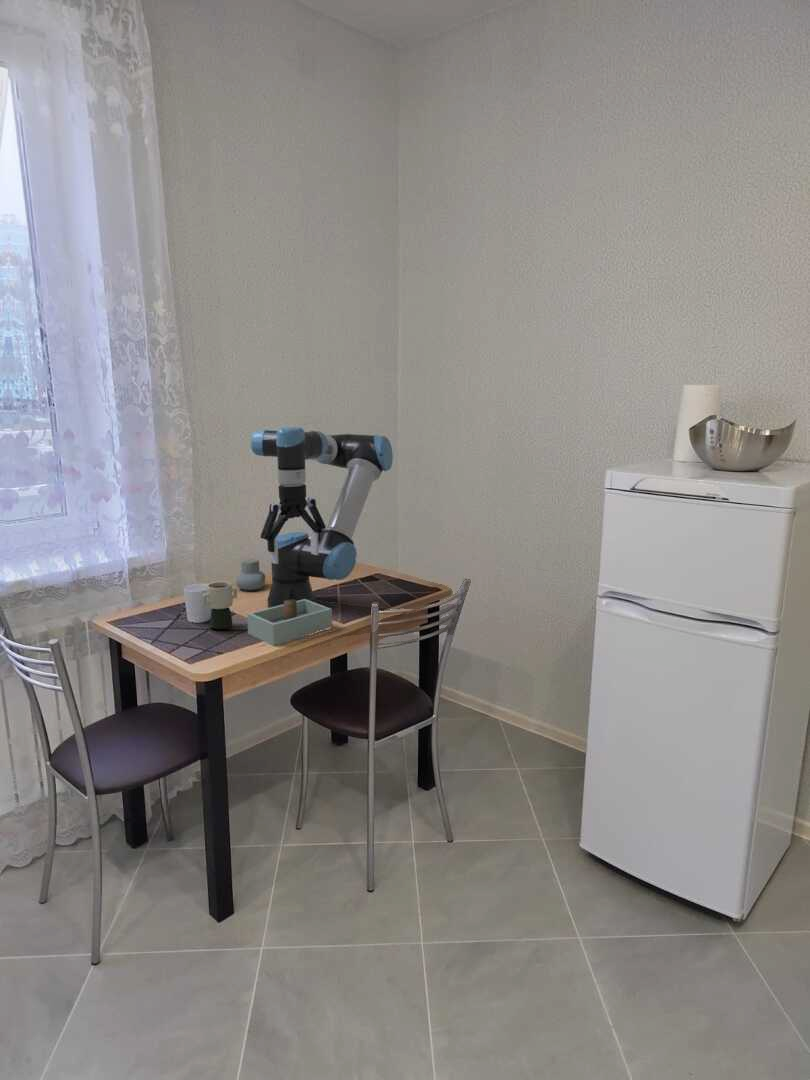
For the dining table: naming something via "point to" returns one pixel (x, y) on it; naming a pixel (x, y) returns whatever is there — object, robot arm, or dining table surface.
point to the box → (288, 622)
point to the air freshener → (250, 575)
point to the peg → (290, 609)
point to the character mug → (220, 603)
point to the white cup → (196, 603)
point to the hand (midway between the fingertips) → (295, 558)
